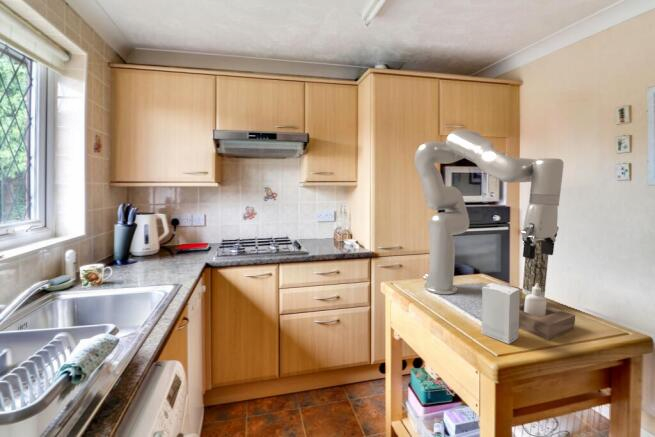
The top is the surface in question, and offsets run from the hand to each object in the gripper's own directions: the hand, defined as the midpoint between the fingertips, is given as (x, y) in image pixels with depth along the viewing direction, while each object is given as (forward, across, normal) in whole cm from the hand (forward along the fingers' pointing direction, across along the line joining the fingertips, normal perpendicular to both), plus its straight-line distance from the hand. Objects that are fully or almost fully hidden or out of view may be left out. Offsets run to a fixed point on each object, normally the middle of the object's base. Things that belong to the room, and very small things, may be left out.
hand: (537, 255), depth 100 cm
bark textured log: (+22, -15, -8) cm, 28 cm away
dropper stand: (+22, 0, +1) cm, 22 cm away
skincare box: (+22, +17, +1) cm, 28 cm away
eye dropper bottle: (+21, 0, +1) cm, 21 cm away
